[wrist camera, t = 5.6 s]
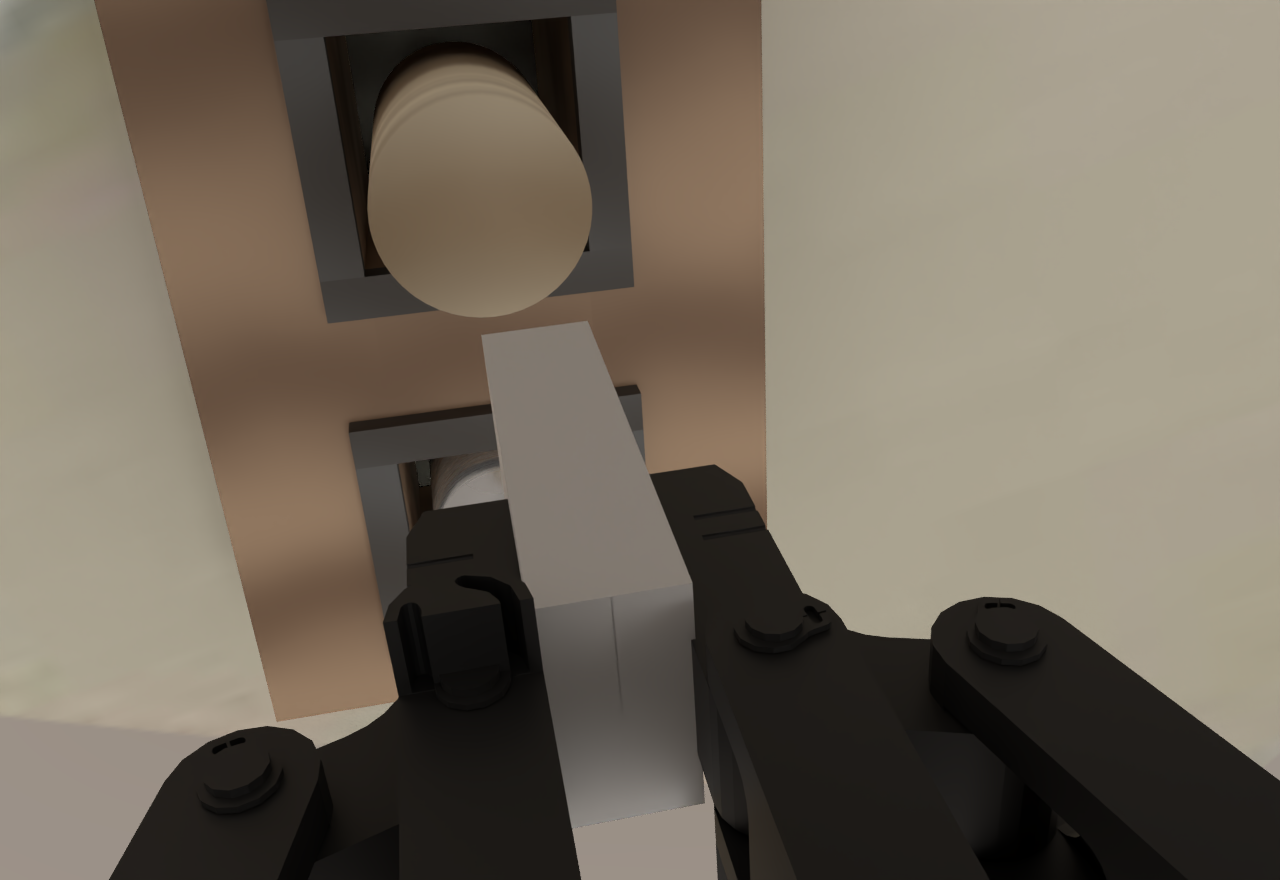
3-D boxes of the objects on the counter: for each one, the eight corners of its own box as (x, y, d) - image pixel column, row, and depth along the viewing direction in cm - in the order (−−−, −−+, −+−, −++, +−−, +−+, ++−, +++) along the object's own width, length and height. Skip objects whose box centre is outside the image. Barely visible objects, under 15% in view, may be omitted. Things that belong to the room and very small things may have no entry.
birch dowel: (360, 49, 26) (349, 108, 19) (532, 34, 27) (583, 86, 20) (387, 218, 28) (386, 329, 21) (548, 201, 29) (600, 303, 22)
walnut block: (150, -84, 30) (67, -75, 22) (677, -120, 32) (768, -122, 24) (297, 568, 39) (274, 736, 31) (702, 507, 41) (774, 650, 33)
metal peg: (418, 363, 36) (424, 480, 29) (545, 347, 36) (582, 458, 29) (435, 476, 37) (446, 613, 30) (556, 459, 38) (594, 589, 31)
